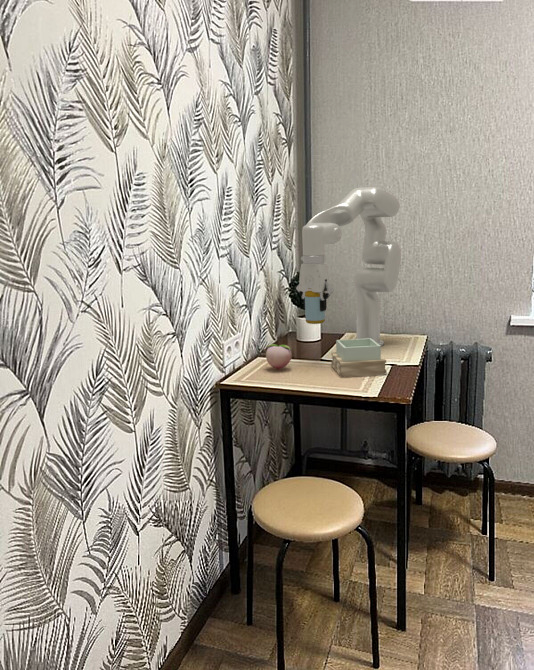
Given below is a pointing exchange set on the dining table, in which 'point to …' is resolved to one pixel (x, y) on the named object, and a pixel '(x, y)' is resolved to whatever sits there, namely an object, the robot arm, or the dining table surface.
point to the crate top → (358, 350)
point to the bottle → (313, 306)
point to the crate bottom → (358, 367)
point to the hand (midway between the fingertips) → (315, 309)
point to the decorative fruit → (278, 355)
